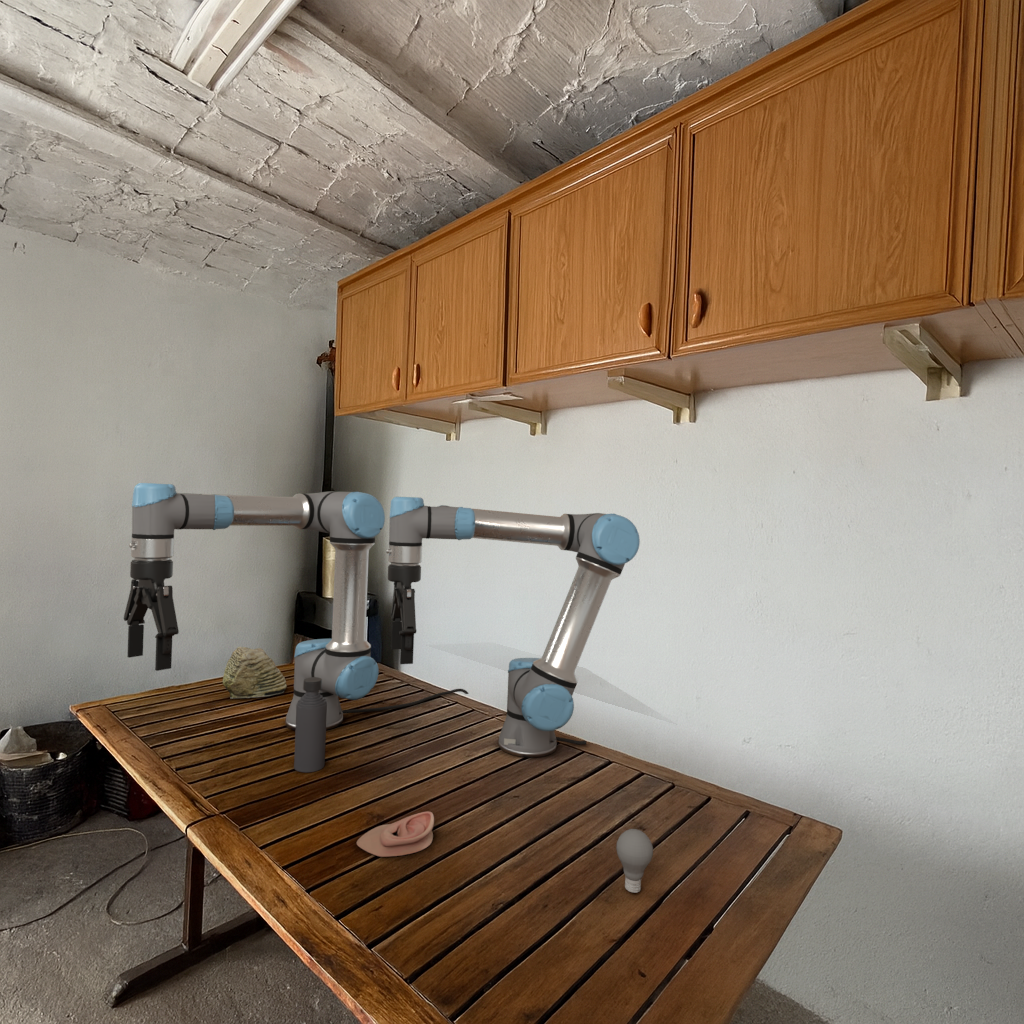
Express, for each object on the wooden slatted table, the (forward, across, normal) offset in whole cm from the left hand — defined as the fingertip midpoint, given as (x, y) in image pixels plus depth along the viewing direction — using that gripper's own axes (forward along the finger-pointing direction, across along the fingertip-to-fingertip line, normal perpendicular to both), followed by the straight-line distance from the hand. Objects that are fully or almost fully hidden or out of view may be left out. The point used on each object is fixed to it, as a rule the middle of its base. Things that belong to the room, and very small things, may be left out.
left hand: (148, 662), depth 129 cm
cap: (+8, +10, +32) cm, 34 cm away
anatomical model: (+28, +50, +24) cm, 62 cm away
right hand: (0, +28, +43) cm, 51 cm away
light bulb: (+28, +90, +41) cm, 103 cm away
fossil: (+28, -47, +50) cm, 74 cm away
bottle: (+28, +10, +32) cm, 44 cm away
